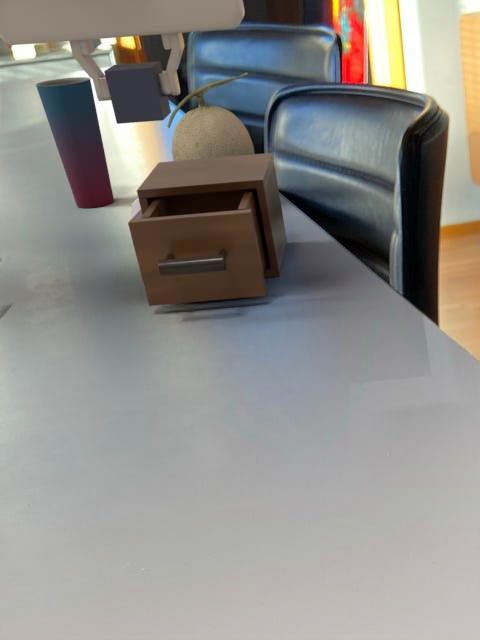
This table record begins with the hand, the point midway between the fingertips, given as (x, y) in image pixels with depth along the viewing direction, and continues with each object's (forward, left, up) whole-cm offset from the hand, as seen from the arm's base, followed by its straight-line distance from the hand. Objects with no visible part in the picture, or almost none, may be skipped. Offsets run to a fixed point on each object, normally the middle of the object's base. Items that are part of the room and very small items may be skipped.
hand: (139, 97), depth 88 cm
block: (0, 0, -2) cm, 2 cm away
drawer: (+2, +5, -18) cm, 19 cm away
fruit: (-2, +47, -19) cm, 51 cm away
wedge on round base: (-6, +33, -19) cm, 38 cm away
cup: (-20, +53, -19) cm, 60 cm away
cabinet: (+2, +17, -19) cm, 25 cm away
